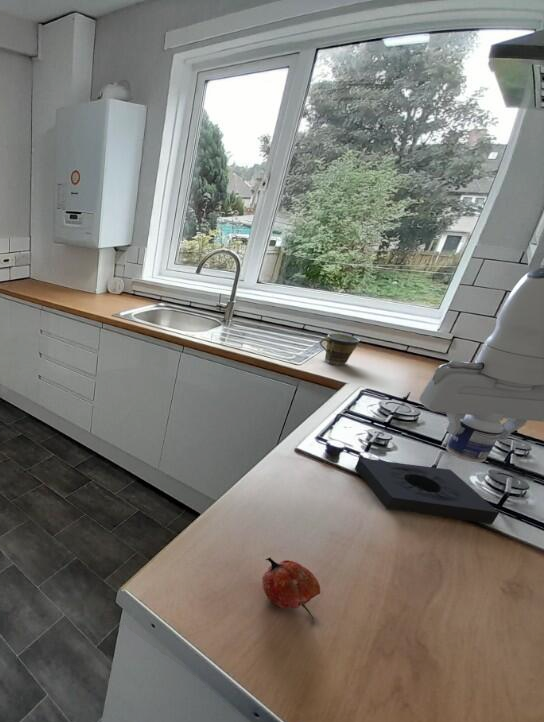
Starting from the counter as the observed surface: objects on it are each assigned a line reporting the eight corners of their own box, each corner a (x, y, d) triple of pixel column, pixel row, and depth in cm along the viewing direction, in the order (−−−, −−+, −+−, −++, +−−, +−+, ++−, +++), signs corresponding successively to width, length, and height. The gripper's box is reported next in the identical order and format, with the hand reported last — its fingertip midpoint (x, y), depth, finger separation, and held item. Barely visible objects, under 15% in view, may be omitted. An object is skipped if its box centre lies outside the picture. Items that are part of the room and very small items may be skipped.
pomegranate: (308, 606, 66) (268, 547, 69) (348, 606, 60) (303, 541, 63) (280, 632, 63) (240, 569, 66) (320, 634, 57) (273, 565, 60)
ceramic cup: (339, 357, 162) (348, 333, 157) (357, 367, 153) (366, 342, 148) (306, 357, 162) (314, 333, 158) (321, 366, 153) (330, 341, 149)
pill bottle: (441, 443, 79) (464, 399, 75) (478, 451, 77) (504, 406, 73) (449, 457, 75) (474, 411, 71) (489, 466, 73) (517, 419, 69)
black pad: (444, 480, 92) (450, 469, 91) (492, 524, 80) (499, 512, 79) (354, 468, 96) (359, 458, 95) (386, 509, 84) (392, 497, 82)
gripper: (453, 367, 68) (420, 437, 73) (608, 378, 64) (559, 452, 69) (429, 354, 73) (399, 420, 79) (569, 363, 69) (527, 433, 75)
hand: (475, 435), depth 74 cm, fingers closed on pill bottle, 5 cm apart
